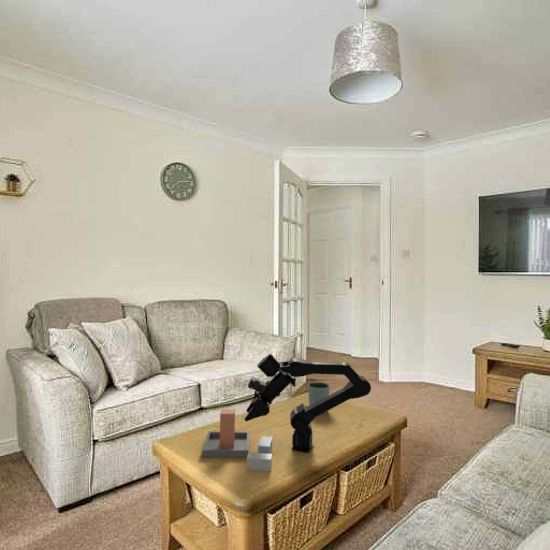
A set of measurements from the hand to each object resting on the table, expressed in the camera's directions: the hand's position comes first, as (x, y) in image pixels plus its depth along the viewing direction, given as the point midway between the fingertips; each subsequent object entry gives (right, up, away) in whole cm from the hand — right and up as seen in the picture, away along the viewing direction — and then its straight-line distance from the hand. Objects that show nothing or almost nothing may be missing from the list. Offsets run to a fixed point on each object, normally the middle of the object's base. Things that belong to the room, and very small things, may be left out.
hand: (246, 415), depth 148 cm
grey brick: (+5, -12, -14) cm, 20 cm away
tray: (-7, -11, 0) cm, 13 cm away
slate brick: (+7, -12, -3) cm, 14 cm away
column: (-7, -11, 0) cm, 13 cm away
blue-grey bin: (+31, -12, +40) cm, 52 cm away
